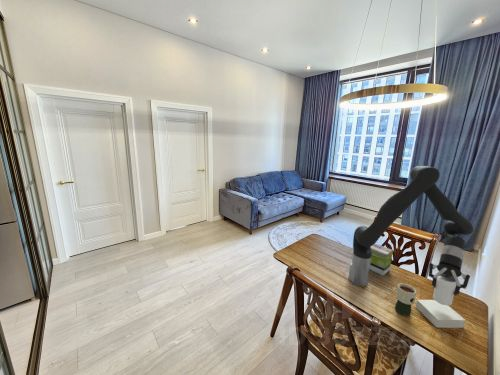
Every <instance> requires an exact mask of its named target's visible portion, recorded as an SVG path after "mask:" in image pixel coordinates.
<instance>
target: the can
mask: <svg viewBox="0 0 500 375" xmlns="http://www.w3.org/2000/svg"><path fill="white" fill-rule="evenodd" d="M455 281H456V280H455V279H454V278H453V277H451V276H450V277H449V276H445V274H439V276H438V277H437V281H436V286H435V288H434V289H433V290H434V291H433V294H432V295H433V296H432V298H433V300H435V301H437V302H438V303H440V304H443V305H448V306H451V305H452V303H453V300H454V296H455V295H454V292H455V288H456V282H455Z"/></svg>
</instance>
